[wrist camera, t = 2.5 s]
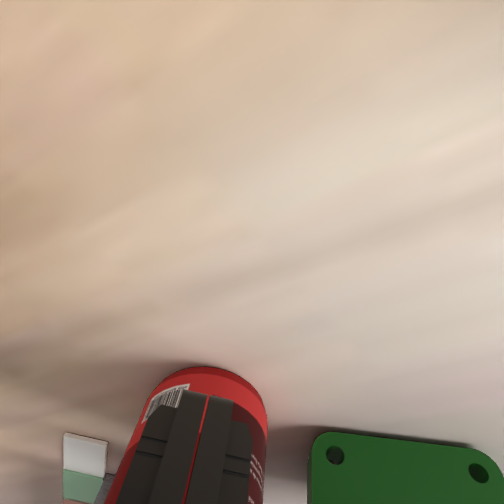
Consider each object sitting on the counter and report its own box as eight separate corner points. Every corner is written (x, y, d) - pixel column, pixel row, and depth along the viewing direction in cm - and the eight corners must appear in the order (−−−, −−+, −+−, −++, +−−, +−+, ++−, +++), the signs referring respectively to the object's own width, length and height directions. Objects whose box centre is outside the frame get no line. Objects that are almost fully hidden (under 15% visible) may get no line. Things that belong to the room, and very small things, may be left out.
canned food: (138, 430, 27) (51, 644, 17) (164, 345, 24) (73, 556, 14) (244, 463, 28) (218, 689, 18) (286, 385, 24) (282, 615, 14)
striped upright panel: (107, 442, 28) (105, 447, 28) (101, 527, 33) (99, 532, 33) (65, 432, 28) (62, 437, 28) (65, 519, 33) (63, 524, 33)
